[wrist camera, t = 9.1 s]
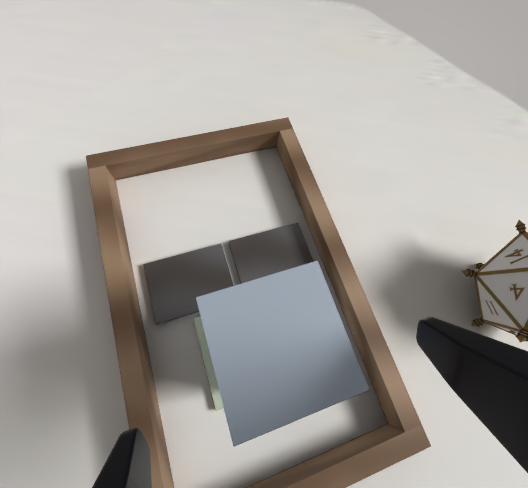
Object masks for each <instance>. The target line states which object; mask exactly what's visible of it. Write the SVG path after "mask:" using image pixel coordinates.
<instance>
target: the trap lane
mask: <svg viewBox="0 0 528 488" xmlns="http://www.w3.org/2000/svg"><path fill="white" fill-rule="evenodd" d="M272 147H277V149H278V152H279V154H280V157H281V159H282V162H283V164H284V167H285V169H286V172H287V174H288V177H289V179H290V181H291V184H292V186H293V189H294V191H295V194H296V196H297V199H298V201H299V204H300V206H301V209H302V211H303V214H304V216H305V219H306V221H307V224H308V226H309V229H310V231H311V233H312V236H313V238H314V241H315V243H316V246H317V248H318V251H319V253H320V256H321V258H322V261H323V263H324V266H325V268H326V271H327V273H328V276H329V278H330V281H331V283H332V285H333V288H334V290H335V293H336V295H337V298H338V300H339V303H340V305H341V308H342V310H343V313H344V315H345V318H346V320H347V323H348V325H349V328H350V330H351V333H352V335H353V337H354V340H355V342H356V345H357V347H358V350H359V352H360V355H361V357H362V360H363V362H364V365H365V367H366V370H367V372H368V375H369V377H370V380H371V382H372V385H373V387H374V390H375V392H376V394H377V397H378V399H379V402H380V404H381V407H382V409H383V412H384V414H385V417H386V419H387V422H388V424H387V425H384V426H382V427H380V428H378V429H376V430H373V431H371V432H369V433H367V434H364V435H362V436H360V437H358V438H356V439H353V440H351V441H349V442H347V443H344V444H342V445H340V446H338V447H336V448H333V449H331V450H329V451H327V452H324V453H322V454H320V455H318V456H316V457H313V458H311V459H309V460H307V461H304V462H302V463H300V464H298V465H296V466H293V467H291V468H289V469H287V470H284V471H282V472H280V473H278V474H276V475H273V476H271V477H269V478H267V479H264V480H262V481H260V482H258V483H256V484H253V485H251V486H249V487H247V488H346V487H348V486H350V485H352V484H354V483H356V482H358V481H360V480H362V479H364V478H366V477H368V476H371V475H373V474H375V473H377V472H379V471H381V470H383V469H385V468H387V467H389V466H391V465H393V464H395V463H397V462H399V461H401V460H404V459H406V458H408V457H410V456H412V455H414V454H416V453H418V452H420V451H422V450H424V449H426V448H428V447H430V446H431V445H430V443H429V440H428V438H427V436H426V433H425V431H424V429H423V427H422V424H421V422H420V420H419V417H418V415H417V413H416V410H415V408H414V406H413V404H412V401H411V399H410V397H409V394H408V392H407V390H406V387H405V385H404V383H403V381H402V378H401V376H400V374H399V371H398V369H397V367H396V364H395V362H394V360H393V358H392V355H391V353H390V351H389V348H388V346H387V344H386V341H385V339H384V337H383V335H382V332H381V330H380V328H379V325H378V323H377V321H376V318H375V316H374V314H373V312H372V309H371V307H370V305H369V302H368V300H367V298H366V295H365V293H364V291H363V289H362V286H361V284H360V282H359V279H358V277H357V275H356V272H355V270H354V268H353V266H352V263H351V261H350V259H349V256H348V254H347V252H346V249H345V247H344V245H343V243H342V240H341V238H340V236H339V233H338V231H337V229H336V226H335V224H334V222H333V220H332V217H331V215H330V213H329V210H328V208H327V206H326V203H325V201H324V199H323V197H322V194H321V192H320V190H319V187H318V185H317V183H316V180H315V178H314V176H313V174H312V171H311V169H310V167H309V164H308V162H307V160H306V157H305V155H304V153H303V151H302V148H301V146H300V144H299V141H298V139H297V137H296V134H295V132H294V130H293V128H292V125H291V123H290V121H289V118H283V119H277V120H272V121H267V122H262V123H256V124H251V125H246V126H241V127H235V128H230V129H225V130H219V131H214V132H209V133H204V134H198V135H193V136H188V137H182V138H177V139H172V140H167V141H161V142H156V143H151V144H145V145H140V146H135V147H130V148H124V149H119V150H114V151H109V152H103V153H98V154H93V155H87V156H86V160H87V166H88V172H89V178H90V185H91V191H92V197H93V203H94V210H95V216H96V222H97V229H98V235H99V241H100V247H101V254H102V260H103V266H104V272H105V279H106V285H107V291H108V298H109V304H110V310H111V316H112V323H113V329H114V335H115V341H116V348H117V354H118V360H119V367H120V373H121V379H122V385H123V392H124V398H125V404H126V411H127V417H128V423H129V429H133V428H136V427H137V428H139V429H140V430H141V432H142V434H143V435H144V437H145V439H146V440H147V442H148V444H149V448H150V458H151V478H152V488H174V484H173V479H172V474H171V469H170V463H169V458H168V453H167V448H166V443H165V437H164V432H163V427H162V422H161V416H160V411H159V406H158V401H157V395H156V390H155V385H154V380H153V374H152V369H151V364H150V359H149V353H148V348H147V343H146V338H145V332H144V327H143V322H142V317H141V311H140V306H139V301H138V296H137V290H136V285H135V280H134V275H133V270H132V264H131V259H130V254H129V249H128V243H127V238H126V233H125V228H124V222H123V217H122V212H121V207H120V201H119V196H118V191H117V186H116V180H119V179H124V178H128V177H133V176H138V175H143V174H147V173H152V172H157V171H162V170H167V169H171V168H176V167H181V166H186V165H190V164H195V163H200V162H205V161H210V160H214V159H219V158H224V157H229V156H234V155H238V154H243V153H248V152H253V151H257V150H262V149H267V148H272ZM229 246H230V249H231V252H232V255H233V259H234V262H235V265H236V269H237V272H238V275H239V278H240V282H241V284H242V283H245V282H249V281H252V280H255V279H258V278H262V277H265V276H268V275H272V274H275V273H278V272H282V271H285V270H288V269H291V268H295V267H298V266H301V265H305V264H308V263H311V262H313V260H312V257H311V255H310V252H309V250H308V247H307V245H306V242H305V240H304V237H303V234H302V232H301V229H300V227H299V224H298V223H295V224H292V225H288V226H284V227H280V228H277V229H273V230H269V231H266V232H262V233H258V234H254V235H251V236H247V237H243V238H240V239H236V240H232V241H229ZM143 265H144V270H145V275H146V279H147V284H148V289H149V294H150V299H151V304H152V309H153V314H154V319H155V324H160V323H163V322H167V321H170V320H173V319H176V318H179V317H183V316H186V315H189V314H192V313H195V312H199V308H198V304H197V300H196V297H199V296H202V295H206V294H209V293H212V292H216V291H219V290H222V289H225V288H229V287H232V286H234V285H233V282H232V279H231V275H230V272H229V268H228V265H227V262H226V258H225V255H224V252H223V248H222V245H221V244H217V245H214V246H210V247H206V248H203V249H199V250H195V251H191V252H188V253H184V254H180V255H177V256H173V257H169V258H165V259H162V260H158V261H154V262H151V263H147V264H143Z"/></svg>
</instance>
